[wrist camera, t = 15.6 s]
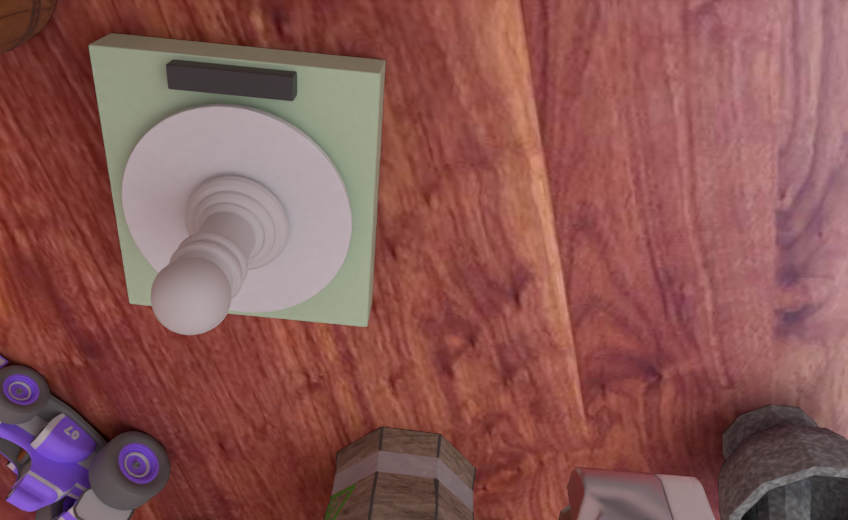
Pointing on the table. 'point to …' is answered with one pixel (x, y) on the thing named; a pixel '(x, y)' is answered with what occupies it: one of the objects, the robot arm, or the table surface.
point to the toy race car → (71, 456)
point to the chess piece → (218, 252)
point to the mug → (401, 479)
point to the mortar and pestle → (782, 468)
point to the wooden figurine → (22, 21)
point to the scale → (247, 162)
